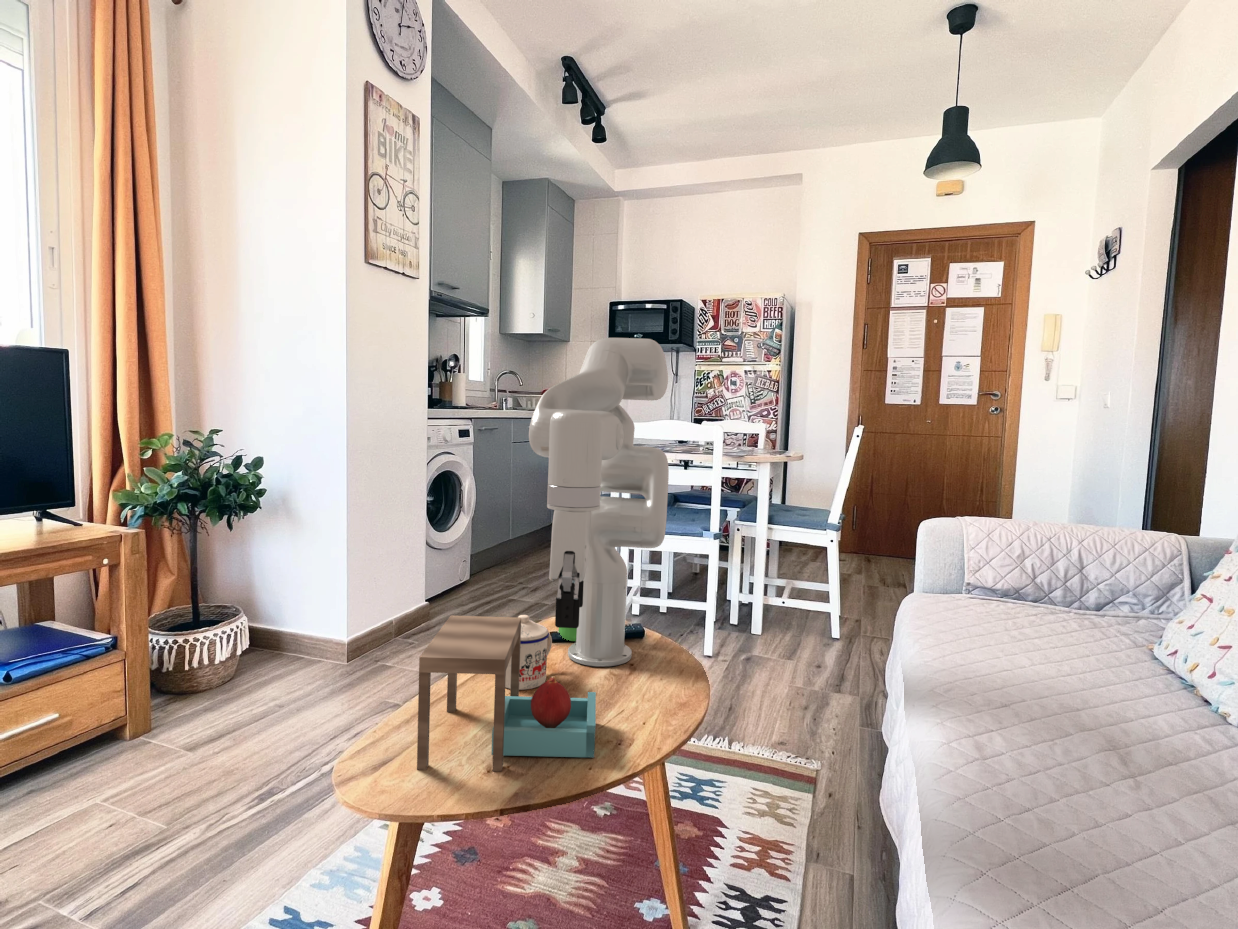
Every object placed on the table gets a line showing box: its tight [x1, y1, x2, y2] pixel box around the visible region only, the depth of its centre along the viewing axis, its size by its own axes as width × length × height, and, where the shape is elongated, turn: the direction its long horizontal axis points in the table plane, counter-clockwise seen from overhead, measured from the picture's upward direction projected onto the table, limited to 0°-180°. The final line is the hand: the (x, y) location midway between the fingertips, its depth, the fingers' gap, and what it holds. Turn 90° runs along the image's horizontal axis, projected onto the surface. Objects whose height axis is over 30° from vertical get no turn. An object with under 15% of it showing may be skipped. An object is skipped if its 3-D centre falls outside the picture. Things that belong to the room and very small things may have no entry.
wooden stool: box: [416, 615, 521, 772], centre depth 93 cm, size 18×11×15 cm, turn 2°
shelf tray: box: [491, 691, 597, 758], centre depth 94 cm, size 11×14×4 cm
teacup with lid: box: [505, 614, 553, 691], centre depth 116 cm, size 12×9×12 cm
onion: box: [531, 676, 571, 728], centre depth 94 cm, size 6×6×8 cm
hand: (569, 616), depth 93 cm, fingers open, 9 cm apart
